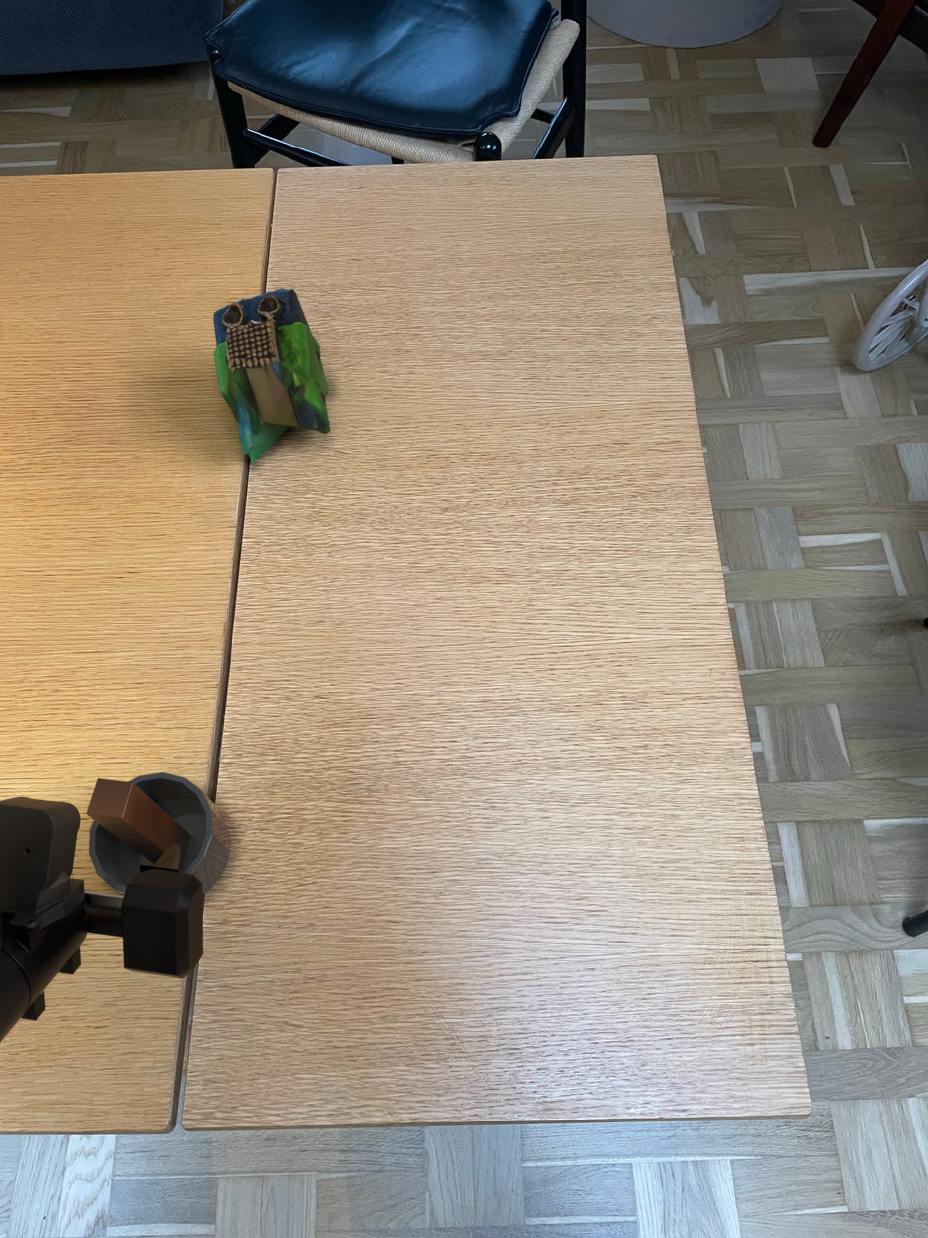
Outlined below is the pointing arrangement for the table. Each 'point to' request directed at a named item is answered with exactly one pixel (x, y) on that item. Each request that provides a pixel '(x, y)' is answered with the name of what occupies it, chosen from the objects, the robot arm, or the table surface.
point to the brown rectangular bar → (135, 819)
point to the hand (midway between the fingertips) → (114, 840)
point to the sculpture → (269, 369)
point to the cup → (189, 812)
